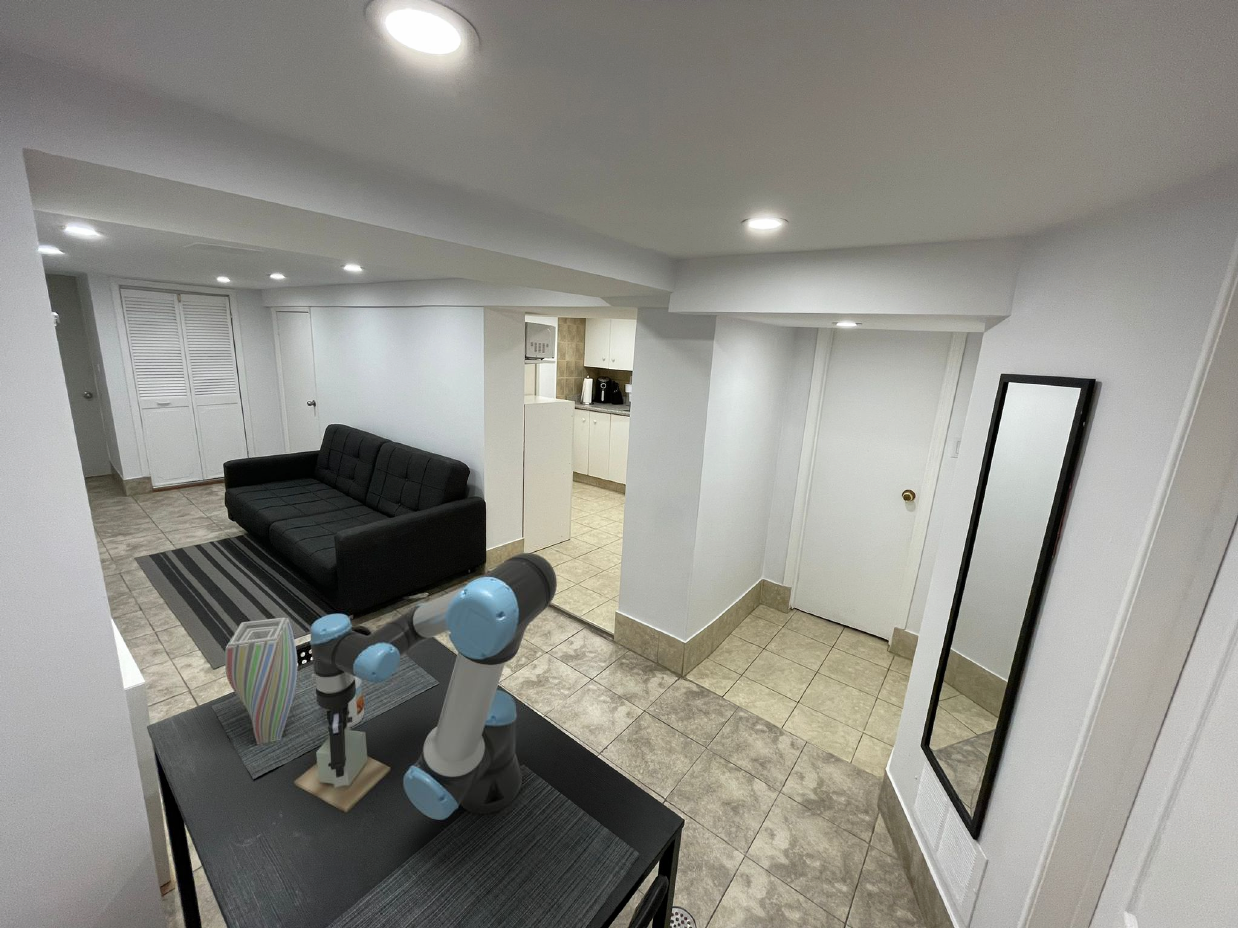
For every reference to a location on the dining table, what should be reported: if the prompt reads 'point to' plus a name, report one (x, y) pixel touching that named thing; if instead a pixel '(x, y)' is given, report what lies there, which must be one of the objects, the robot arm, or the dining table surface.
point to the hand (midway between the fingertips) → (343, 765)
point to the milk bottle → (356, 704)
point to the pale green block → (353, 752)
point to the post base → (343, 794)
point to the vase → (264, 673)
